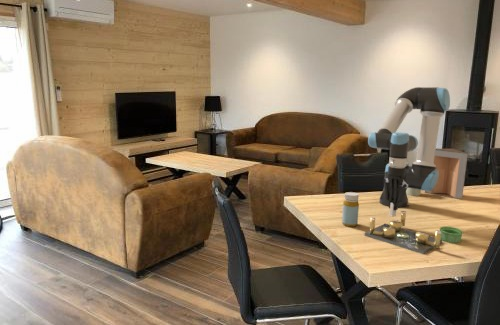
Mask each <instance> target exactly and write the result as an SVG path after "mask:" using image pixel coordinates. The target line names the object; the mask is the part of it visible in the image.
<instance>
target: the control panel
mask: <svg viewBox="0 0 500 325" xmlns="http://www.w3.org/2000/svg"><path fill="white" fill-rule="evenodd" d="M389 226H390V223H389V224H388V223H383V224H381V225H379V226H377V227H375V228H374V231H379V232H383V228H384V227H389ZM416 232H417V231H412V230H410V229H406V228H403V227H401V231H395V237H394V238H387V237H384V236H383V235H378V234H371V233H369V230H368V231H365V232H364V236H366V237H368V238H372V239H375V240H378V241H381V242H385V243H387V244H390V245H394V246H397V247H400V248H403V249H406V250H409V251H413V252H415V253H418V254H422V255H425V254H427V253H428V252H430V251H431V250H433V249H434V248H435V247H433V246H431V245H428V244H426V243H419V242H416V241H415V235H416ZM428 241H430V242H433V243H434V241H435V236H431V235H429V238H428ZM442 243H443V240H442V239H440V244H442Z"/></svg>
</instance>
